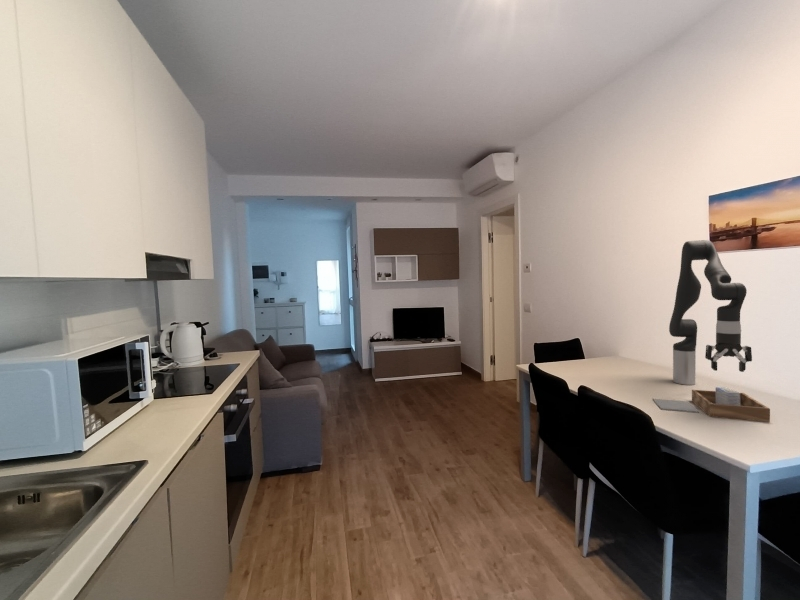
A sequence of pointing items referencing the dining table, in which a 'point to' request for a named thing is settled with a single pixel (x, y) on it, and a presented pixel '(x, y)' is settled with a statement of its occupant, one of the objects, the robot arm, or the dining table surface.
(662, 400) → the slate mat
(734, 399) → the medicine box
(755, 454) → the dining table surface
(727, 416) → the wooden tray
